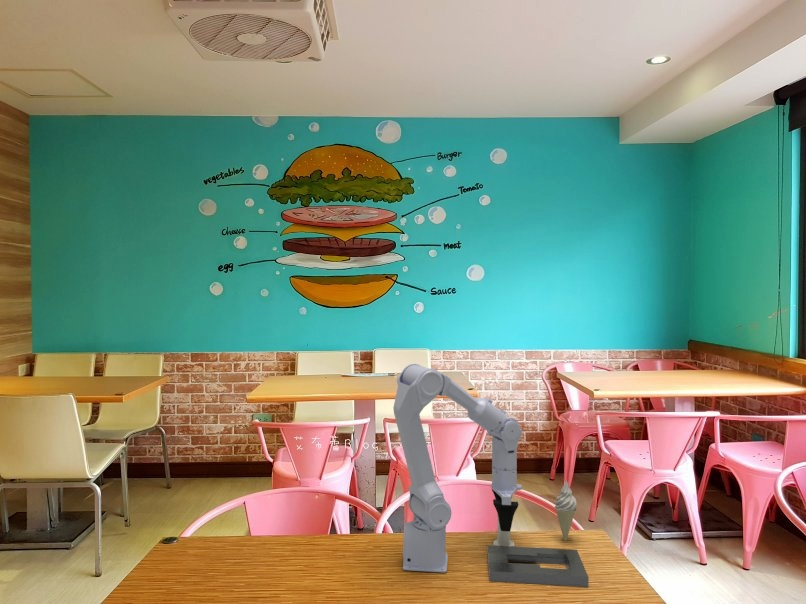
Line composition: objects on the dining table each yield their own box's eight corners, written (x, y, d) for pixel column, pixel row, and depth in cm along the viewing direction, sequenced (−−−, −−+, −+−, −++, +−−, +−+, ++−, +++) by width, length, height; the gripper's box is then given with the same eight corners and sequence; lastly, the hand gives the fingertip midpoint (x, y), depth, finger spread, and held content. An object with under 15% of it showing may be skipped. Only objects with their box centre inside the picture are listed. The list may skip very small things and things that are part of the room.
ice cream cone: (577, 546, 132) (577, 483, 132) (555, 544, 133) (555, 482, 133) (575, 537, 137) (575, 476, 136) (553, 535, 138) (554, 475, 137)
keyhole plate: (489, 581, 116) (489, 571, 116) (487, 554, 128) (487, 544, 128) (588, 587, 114) (588, 576, 114) (576, 558, 126) (576, 549, 126)
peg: (493, 551, 129) (493, 517, 129) (492, 541, 134) (492, 509, 134) (515, 552, 129) (515, 518, 129) (513, 542, 134) (513, 509, 134)
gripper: (524, 477, 123) (524, 538, 124) (518, 457, 138) (518, 512, 138) (492, 476, 124) (492, 536, 125) (490, 456, 139) (489, 510, 139)
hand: (504, 523), depth 131 cm, fingers open, 7 cm apart
